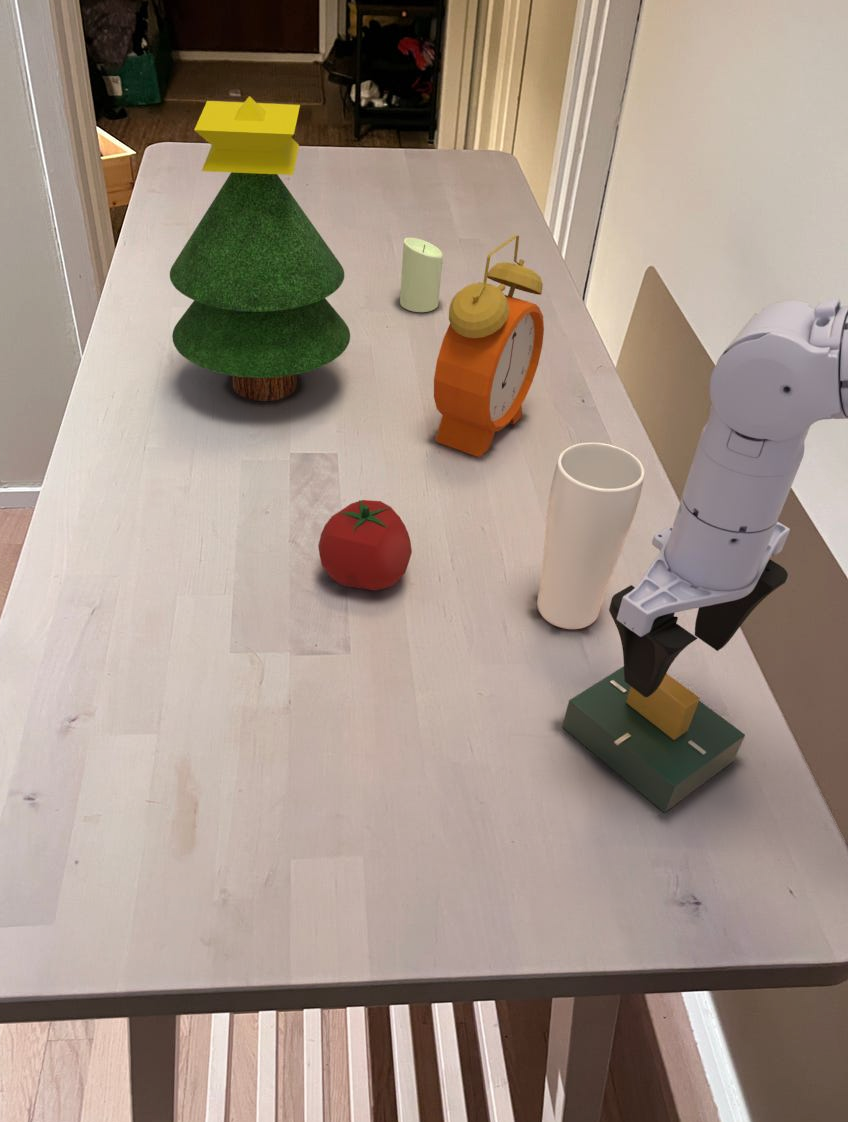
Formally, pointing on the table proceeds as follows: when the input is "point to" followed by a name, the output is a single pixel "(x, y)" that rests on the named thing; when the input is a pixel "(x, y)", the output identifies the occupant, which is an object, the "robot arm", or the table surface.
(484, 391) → the alarm clock
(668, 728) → the yellow block
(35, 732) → the table surface
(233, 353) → the decorative tree
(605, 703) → the knob panel
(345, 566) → the tomato
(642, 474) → the drinking glass
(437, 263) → the candle
